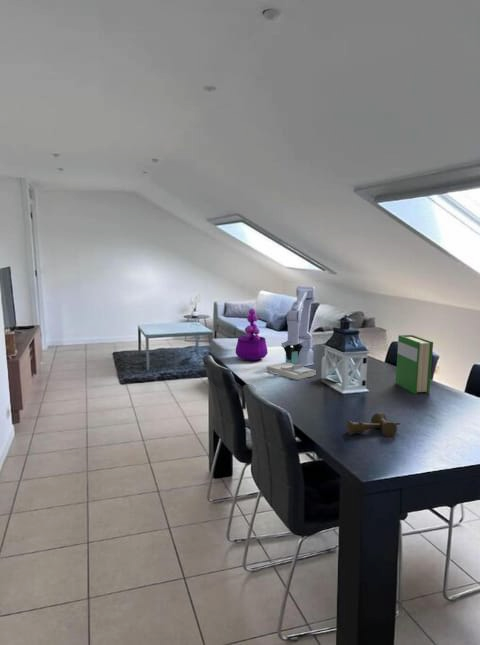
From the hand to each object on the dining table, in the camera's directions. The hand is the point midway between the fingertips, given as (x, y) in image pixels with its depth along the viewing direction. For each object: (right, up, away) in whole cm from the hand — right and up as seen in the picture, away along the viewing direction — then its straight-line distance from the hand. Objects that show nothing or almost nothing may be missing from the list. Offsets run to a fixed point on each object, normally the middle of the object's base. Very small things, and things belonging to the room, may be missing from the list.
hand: (292, 359), depth 250 cm
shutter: (+4, -6, -4) cm, 8 cm away
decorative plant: (-21, -3, +32) cm, 38 cm away
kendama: (+21, -21, -78) cm, 83 cm away
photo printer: (+18, -10, -11) cm, 23 cm away
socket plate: (-1, -7, +2) cm, 8 cm away
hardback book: (+54, -12, -23) cm, 60 cm away
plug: (0, -2, +1) cm, 2 cm away
